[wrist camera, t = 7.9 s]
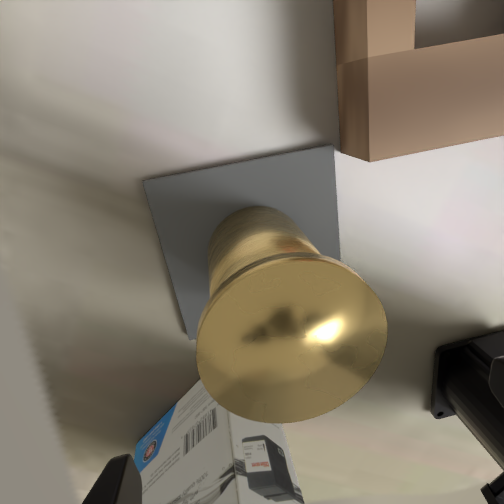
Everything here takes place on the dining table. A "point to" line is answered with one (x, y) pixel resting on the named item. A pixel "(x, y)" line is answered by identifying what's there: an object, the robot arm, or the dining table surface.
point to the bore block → (411, 83)
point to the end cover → (283, 322)
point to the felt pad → (235, 198)
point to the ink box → (214, 457)
